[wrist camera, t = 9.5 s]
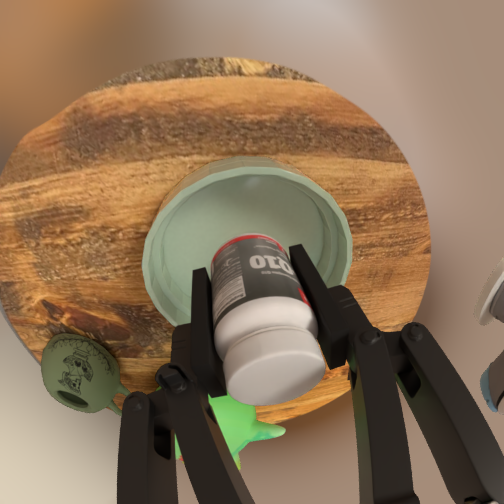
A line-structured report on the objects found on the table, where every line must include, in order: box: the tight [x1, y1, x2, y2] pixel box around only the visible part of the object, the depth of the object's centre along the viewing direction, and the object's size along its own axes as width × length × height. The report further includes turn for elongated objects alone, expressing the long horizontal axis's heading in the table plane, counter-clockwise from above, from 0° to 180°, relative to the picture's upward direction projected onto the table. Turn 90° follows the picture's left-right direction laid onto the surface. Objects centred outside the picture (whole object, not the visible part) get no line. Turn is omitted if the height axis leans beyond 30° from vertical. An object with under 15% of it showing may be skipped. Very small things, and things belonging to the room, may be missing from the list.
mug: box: [41, 333, 131, 416], centre depth 31 cm, size 16×13×9 cm
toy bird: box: [156, 386, 286, 470], centre depth 34 cm, size 18×17×15 cm
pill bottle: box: [211, 233, 326, 406], centre depth 13 cm, size 5×5×8 cm
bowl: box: [142, 156, 352, 327], centre depth 26 cm, size 19×19×5 cm
